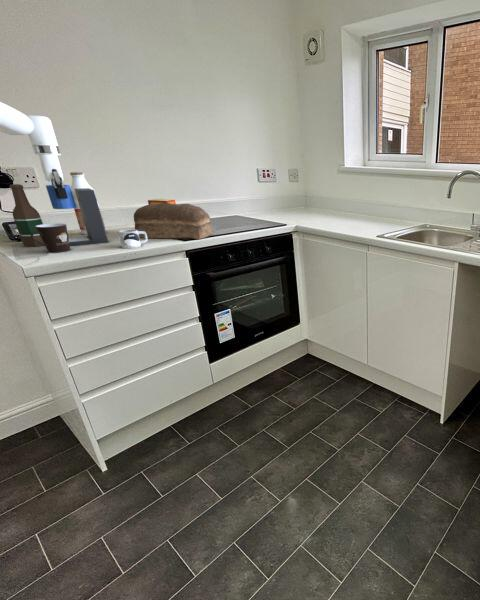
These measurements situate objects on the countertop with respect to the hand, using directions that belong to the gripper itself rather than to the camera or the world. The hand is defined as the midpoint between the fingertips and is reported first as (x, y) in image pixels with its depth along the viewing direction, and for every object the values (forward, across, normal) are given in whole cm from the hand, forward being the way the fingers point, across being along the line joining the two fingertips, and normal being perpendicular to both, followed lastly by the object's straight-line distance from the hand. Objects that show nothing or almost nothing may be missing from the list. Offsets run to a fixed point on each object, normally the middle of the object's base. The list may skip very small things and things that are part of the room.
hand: (61, 197), depth 143 cm
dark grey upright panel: (+19, -1, +2) cm, 19 cm away
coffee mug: (+19, +12, -8) cm, 24 cm away
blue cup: (+4, 0, 0) cm, 4 cm away
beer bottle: (+19, -5, -12) cm, 23 cm away
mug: (+19, +20, +17) cm, 33 cm away
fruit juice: (+19, -22, +9) cm, 31 cm away
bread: (+19, +8, +36) cm, 42 cm away
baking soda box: (+19, -9, +37) cm, 43 cm away
